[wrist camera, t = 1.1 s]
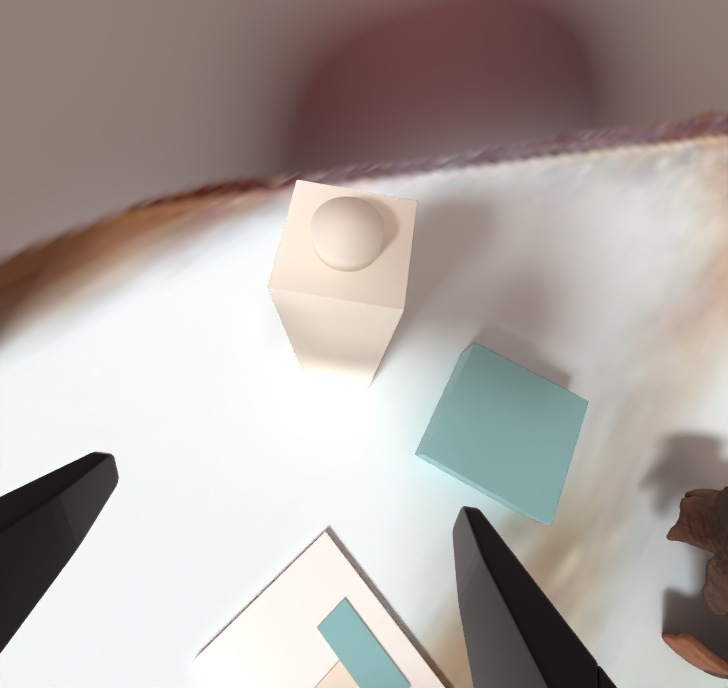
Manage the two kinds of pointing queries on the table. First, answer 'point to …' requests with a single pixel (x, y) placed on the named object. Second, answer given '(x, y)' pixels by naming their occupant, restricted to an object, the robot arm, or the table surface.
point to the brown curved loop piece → (723, 572)
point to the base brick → (505, 432)
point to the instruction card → (315, 634)
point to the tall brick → (342, 278)
